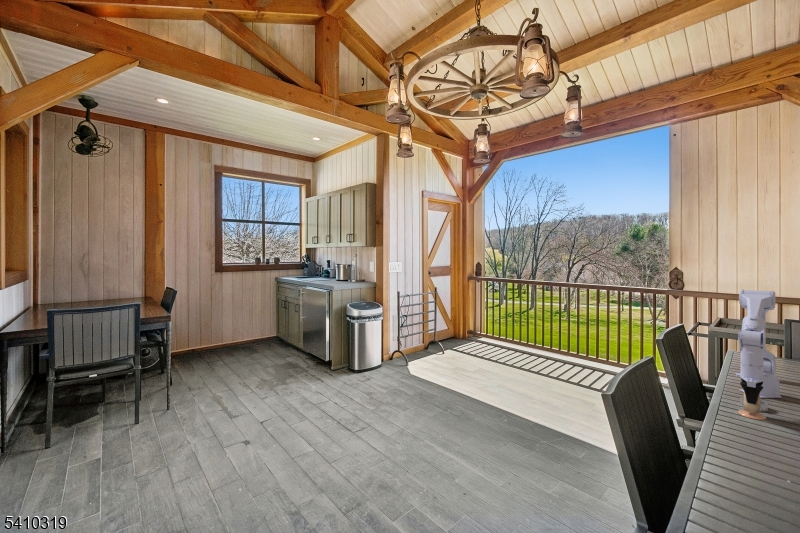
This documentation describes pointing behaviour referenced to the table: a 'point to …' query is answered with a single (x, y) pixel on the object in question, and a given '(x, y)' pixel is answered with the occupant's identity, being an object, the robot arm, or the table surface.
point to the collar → (762, 405)
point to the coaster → (752, 415)
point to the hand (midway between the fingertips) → (751, 401)
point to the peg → (752, 405)
